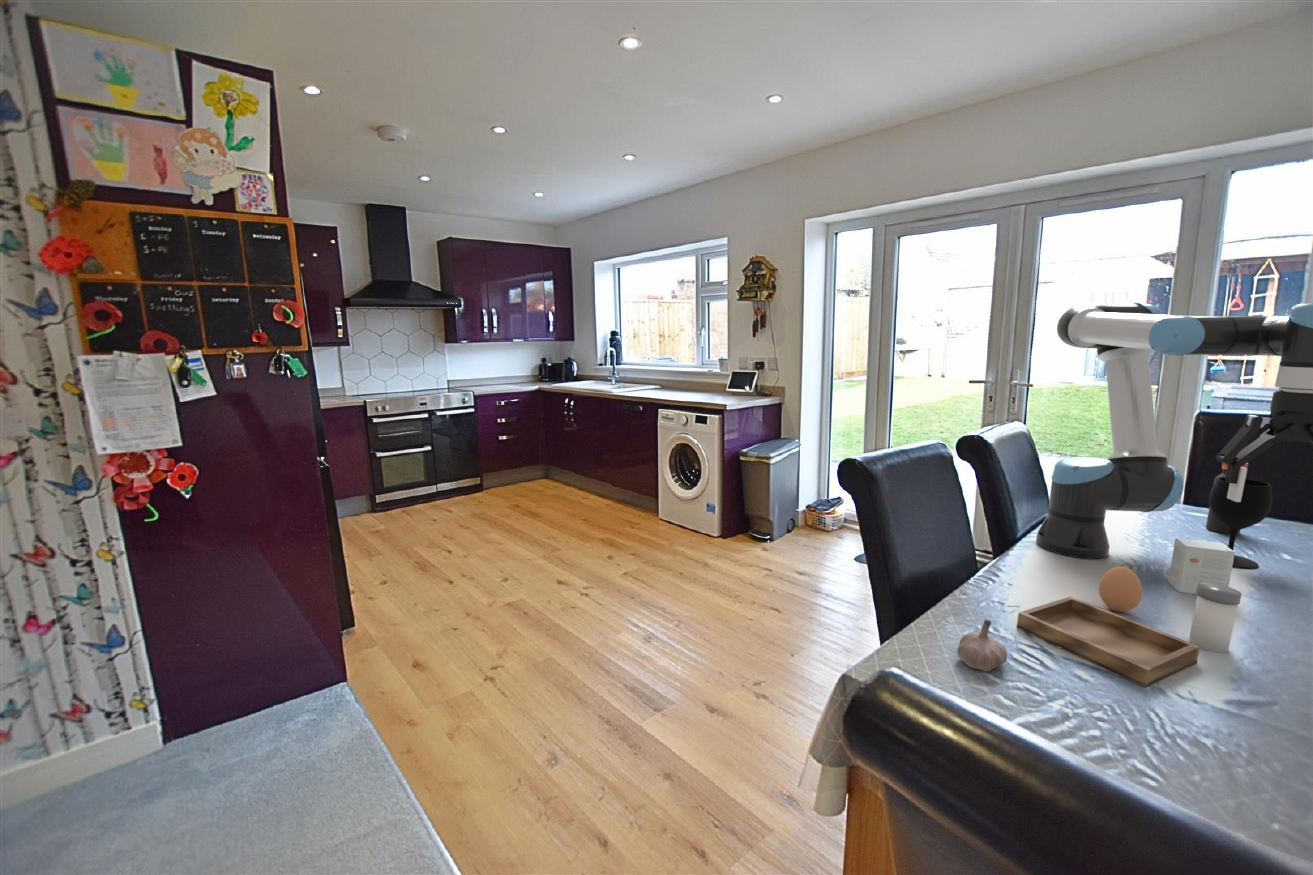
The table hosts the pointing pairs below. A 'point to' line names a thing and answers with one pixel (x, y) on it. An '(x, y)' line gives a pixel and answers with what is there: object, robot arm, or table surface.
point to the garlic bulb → (981, 650)
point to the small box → (1199, 564)
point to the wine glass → (1241, 511)
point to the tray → (1109, 640)
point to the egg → (1120, 589)
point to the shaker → (1214, 616)
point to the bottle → (1212, 521)
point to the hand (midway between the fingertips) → (1279, 503)
